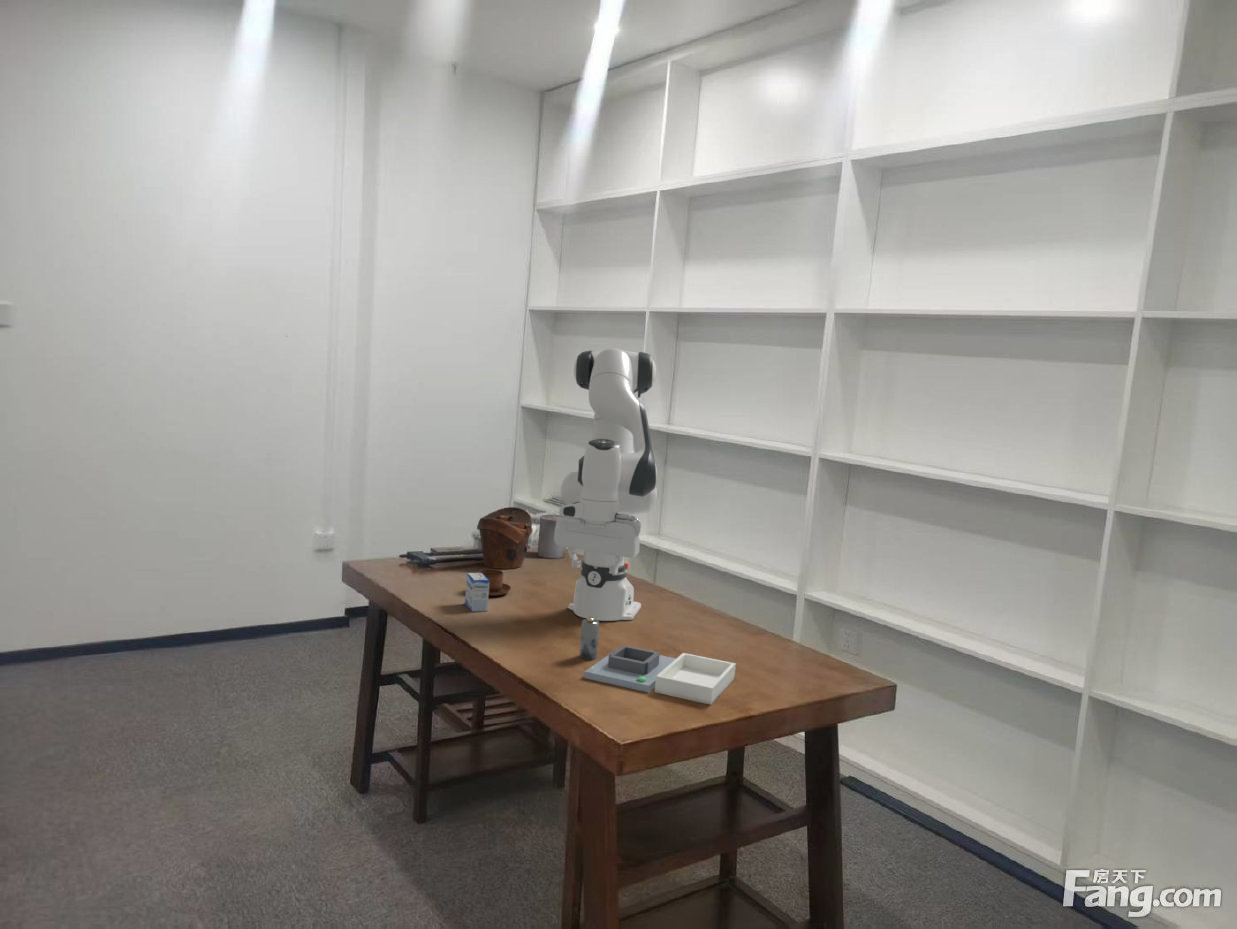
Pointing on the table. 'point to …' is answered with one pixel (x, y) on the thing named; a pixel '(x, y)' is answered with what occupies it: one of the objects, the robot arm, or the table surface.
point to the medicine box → (477, 592)
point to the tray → (695, 678)
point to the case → (505, 537)
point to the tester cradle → (629, 668)
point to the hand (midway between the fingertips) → (594, 570)
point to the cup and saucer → (495, 582)
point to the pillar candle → (549, 538)
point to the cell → (589, 639)
